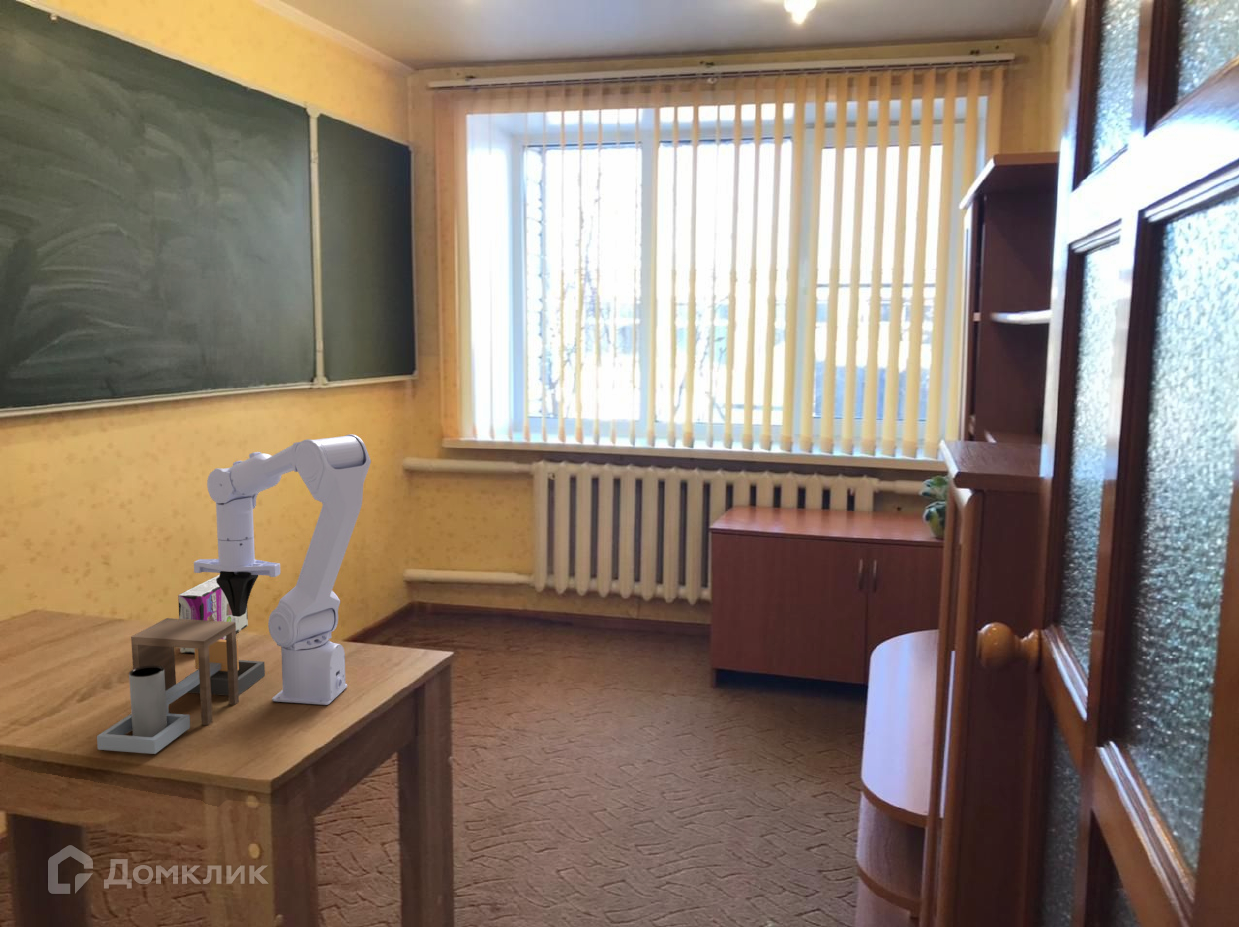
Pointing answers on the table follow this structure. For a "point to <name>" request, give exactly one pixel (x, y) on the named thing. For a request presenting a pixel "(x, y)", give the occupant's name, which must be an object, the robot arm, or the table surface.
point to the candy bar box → (208, 607)
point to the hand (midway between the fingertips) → (239, 614)
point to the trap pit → (246, 678)
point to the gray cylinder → (148, 700)
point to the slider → (176, 723)
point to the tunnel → (186, 633)
